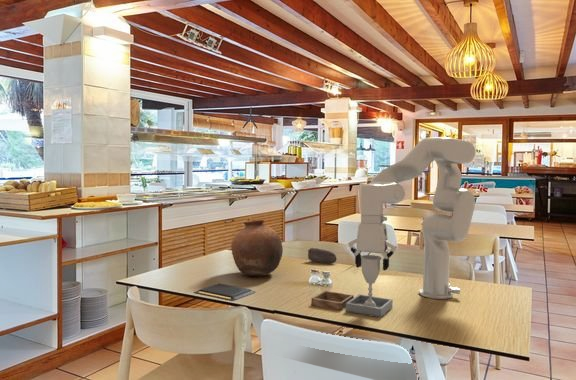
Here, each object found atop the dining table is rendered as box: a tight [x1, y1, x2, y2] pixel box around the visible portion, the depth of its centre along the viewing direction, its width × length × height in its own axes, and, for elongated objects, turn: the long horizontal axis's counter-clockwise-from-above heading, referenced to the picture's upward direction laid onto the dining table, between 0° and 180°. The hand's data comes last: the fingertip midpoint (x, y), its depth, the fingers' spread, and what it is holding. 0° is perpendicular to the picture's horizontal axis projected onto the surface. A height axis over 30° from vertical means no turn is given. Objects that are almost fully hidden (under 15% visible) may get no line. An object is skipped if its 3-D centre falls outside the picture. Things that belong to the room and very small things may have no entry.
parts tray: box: [345, 294, 394, 318], centre depth 168 cm, size 13×13×3 cm
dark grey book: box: [193, 283, 256, 302], centre depth 188 cm, size 20×2×15 cm
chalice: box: [361, 254, 382, 308], centre depth 167 cm, size 7×7×18 cm
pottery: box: [230, 218, 284, 277], centre depth 216 cm, size 23×23×25 cm
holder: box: [311, 290, 355, 311], centre depth 175 cm, size 12×12×2 cm
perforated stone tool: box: [307, 247, 338, 264], centre depth 243 cm, size 15×5×7 cm, turn 61°
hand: (371, 268), depth 168 cm, fingers open, 9 cm apart
